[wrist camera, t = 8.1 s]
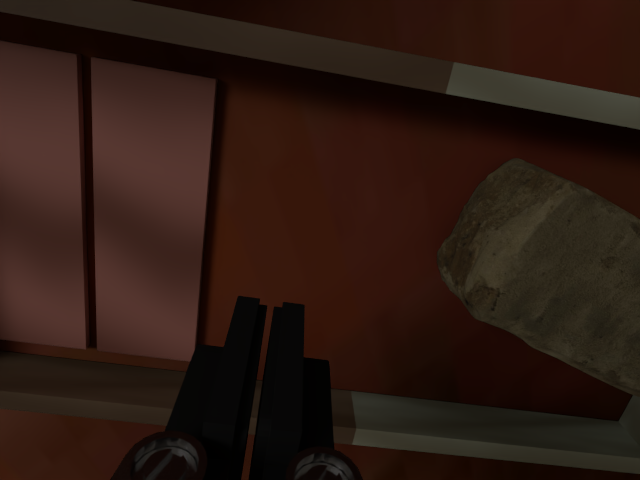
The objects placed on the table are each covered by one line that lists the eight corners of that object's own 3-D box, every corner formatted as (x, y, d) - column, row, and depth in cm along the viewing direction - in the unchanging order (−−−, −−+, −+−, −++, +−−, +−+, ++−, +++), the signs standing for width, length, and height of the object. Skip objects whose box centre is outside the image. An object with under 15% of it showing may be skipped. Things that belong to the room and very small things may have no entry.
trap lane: (-119, -44, 15) (-257, -77, 11) (802, 132, 18) (927, 151, 15) (-49, 362, 21) (-123, 426, 18) (627, 436, 25) (684, 503, 21)
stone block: (613, 352, 23) (694, 430, 18) (418, 258, 20) (452, 320, 16) (698, 257, 21) (815, 316, 16) (493, 142, 18) (558, 171, 14)
